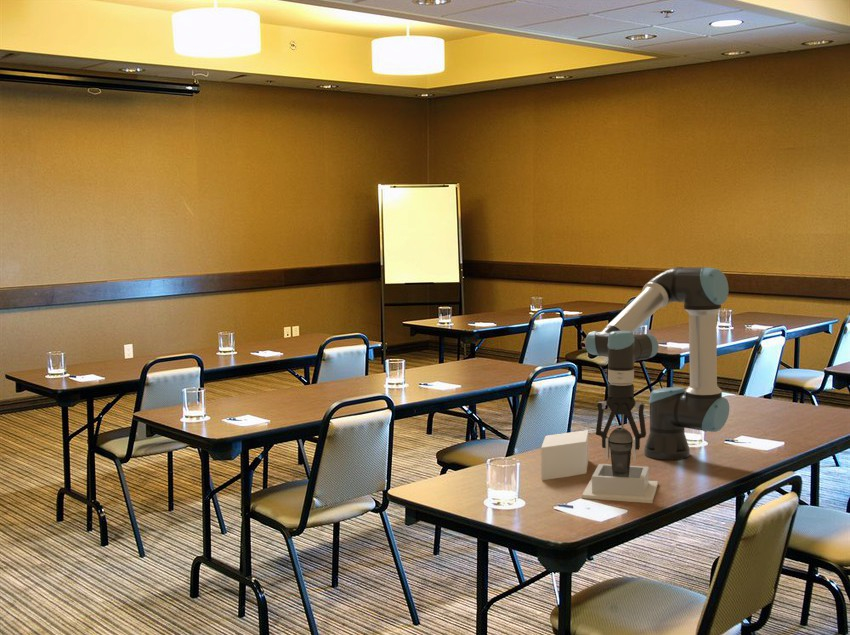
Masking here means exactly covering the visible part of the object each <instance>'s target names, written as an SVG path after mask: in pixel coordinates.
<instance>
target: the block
mask: <svg viewBox="0 0 850 635" xmlns="http://www.w3.org/2000/svg"><path fill="white" fill-rule="evenodd" d="M540 450H541V451H540V452H541V453H540V456H541V458H540V459H541V462H540V463H541V464H540V466H541V477H540V478H541V481H547V480H553V479H558V478H559V479H560V478H566V477H572V476H573V477H574V476H579V475H587V472H588V465H589V429H586V430H585V429H584V430H577V431H571V432H563V433H557V434H549V435H545V437H544V438H543V442H542V444H541V447H540Z"/></svg>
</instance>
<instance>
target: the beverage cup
mask: <svg viewBox="0 0 850 635" xmlns="http://www.w3.org/2000/svg"><path fill="white" fill-rule="evenodd" d="M621 418H622V419H621V427H615V429H613V430H612V431H611V432H610V433H609V435H608V436H609V441H608V442H609V453H610V461H611V462H610V463H611V465H612V474H613V476H614V477H629V470H630V466H631V457H632V456H631V455H632V450H633V435H632V434H631V432H630V431H629V430H628V429H626V428H624V424H625V422H624V421H625V415H624V414H623V415H622V417H621Z"/></svg>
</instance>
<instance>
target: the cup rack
mask: <svg viewBox="0 0 850 635" xmlns="http://www.w3.org/2000/svg"><path fill="white" fill-rule="evenodd" d="M658 485H659V481H658V480H650V467H649V466H642V465H641V466H640V465H630V470H629V477H614V476H613V474H612V463H611V464H610V463H609V464H608V463H598V465H597V466H596V468H595V470H594V472H593V473H592V475H591V479H590V480H589V482H588V483H587V485H586V487H585V489H584V490H583V491H582V492H583V493H582V494H581V498H582V499H587V500H601V501H602V500H603V501H615V502H616V501H617V502H630V503H643V504H653V502H654V498H655V496H656V492H657V489H658Z"/></svg>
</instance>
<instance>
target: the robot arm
mask: <svg viewBox="0 0 850 635" xmlns="http://www.w3.org/2000/svg"><path fill="white" fill-rule="evenodd" d="M728 296H729V283H728V279H727V277H726V275H725V274H724V272H723V271H722V270H720V269H719V268H714V267H706V266H705V267H704V266H703V267H689V266H688V267H684V266H683V267H682V266H676V267H675V266H674V267H671V268H668V269H666V270H664V271H663V272H660V273H658V274H657V275H656V276H653V277H652V278H651V279H650V280H649V281H648V282H646V283H645V285H644V286H643V287H642V290H641V293H639V294H638V295H637V296H636V297H635V298H634V299H633V300H631V302H630V303H629V304H628V305H626V306H625V308H623V309H622V310H621V311H620V312H619V313H618V314H617V315H616V316H615V317H614V318H613V319H612V320H611V321H610V322H609V323H608V324H607V325H606V326H604V328H603V329H601V330H600V331H599V330H593V331H590V332H588V334H587V335H586V337H585V341H584V345H585V350H586V352H587V353H588V354H590V355H593V356H598V357H607V360H608V361H607V364H608V365H607V382H608V385H607V398H606V400H605V401H598V403H597V405H596V406H597V410H598V412H597V413H598V414H597V422H596V427H595V435H597V436H599V437H601V447H602V449H605V460H606V461H608V460H610V447H609V442H608V441H609V436H610V435H608V433H609V431H610V428H611V425H612V424H613V421H614V418H615V416H619V415H623V414H624V416H626V419H627V420H628V424H629V426H630V428H631V431H632V433H633V435H634V437H632V439H633V443H632V462H636V460H637V451H639V450H640V448H641V439H644V438H646V437H647V438H646V440H645V441H646V442H645V444H644V448H643V449H644V450H643V451H644V452H643V453H644V456H646V457H649V458H651V459H652V458H653V459H655V460H656V459H657V460H665V461H666V460H668V461H674V460H676V461H677V460H683V459H687V458H689V457H690V455H691V454H690V452H691V451H690V450H691V449H690V446H689V443H688V439H687V437H686V434H685V432H686V431H685V429H688V430H689V429H690V430H691V429H692V430H697V431H702V432H706V433H707V432H711V433H712V432H713V433H716V432H718V431H721V430H722V429H723V428H724V427H725V425H726V423H727V421H728V419H729V414H730V403H729V400H728V399H727V398H726V397H723V390H722V389H721V388H720V387H719V386H718V366H717V365H718V361H717V359H718V358H717V354H718V353H717V351H718V350H717V339H718V338H717V313H718V312H720V310H721V309H722V305H723V304H724V303H726V302H727V301H728V300H727V299H728ZM671 303H683V309H684V311H686V312H687V314H688V328H689V329H688V336H689V338H688V341H689V345H688V347H689V351H688V352H689V386H687V387H686V388H684V387H681V386H680V387H679V386H676V387H675V386H673V387H671V386H670V387H661V388H656V389H653V390H651V392H650V394H649V401H648V402H649V403H648V404H649V432H648V436H647V430H646V422H645V414H644V413H645V412H644V409H645V403H644V402H641V403H640V402H637V401H636V400H635V384H633V383H634V382H635V362H636V361H641V360H648V359H650V358H653V357H655V356H656V355H657V353H658V351H659V342H658V339H657V338H656V337H655V336H654V335H652V334H651V333H641V334H635V332H636V331H637V330H638V329H639V328H640V327H641V326H642V325H643V324H644V323H645V322H646V321H647V320H648V319H649V318H651V316H652V315H653V314H654V313H655V312H656V311H657V310H659V309H662V308H665V307H666V306H667V305H668V304H671ZM606 406H607V407H608V409H609V410H610V414H609V415H608V419H607V422H606V424H605V427H604V429H603V431H602V427H603V419H604V410H605V409H606ZM634 408H636V411H638V412H637V413H638V420H639V422H638V423H639V427H640V432H639V429H638V426H637V424H636V422H635V419H634V416H633V413H632V410H633V409H634Z"/></svg>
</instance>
